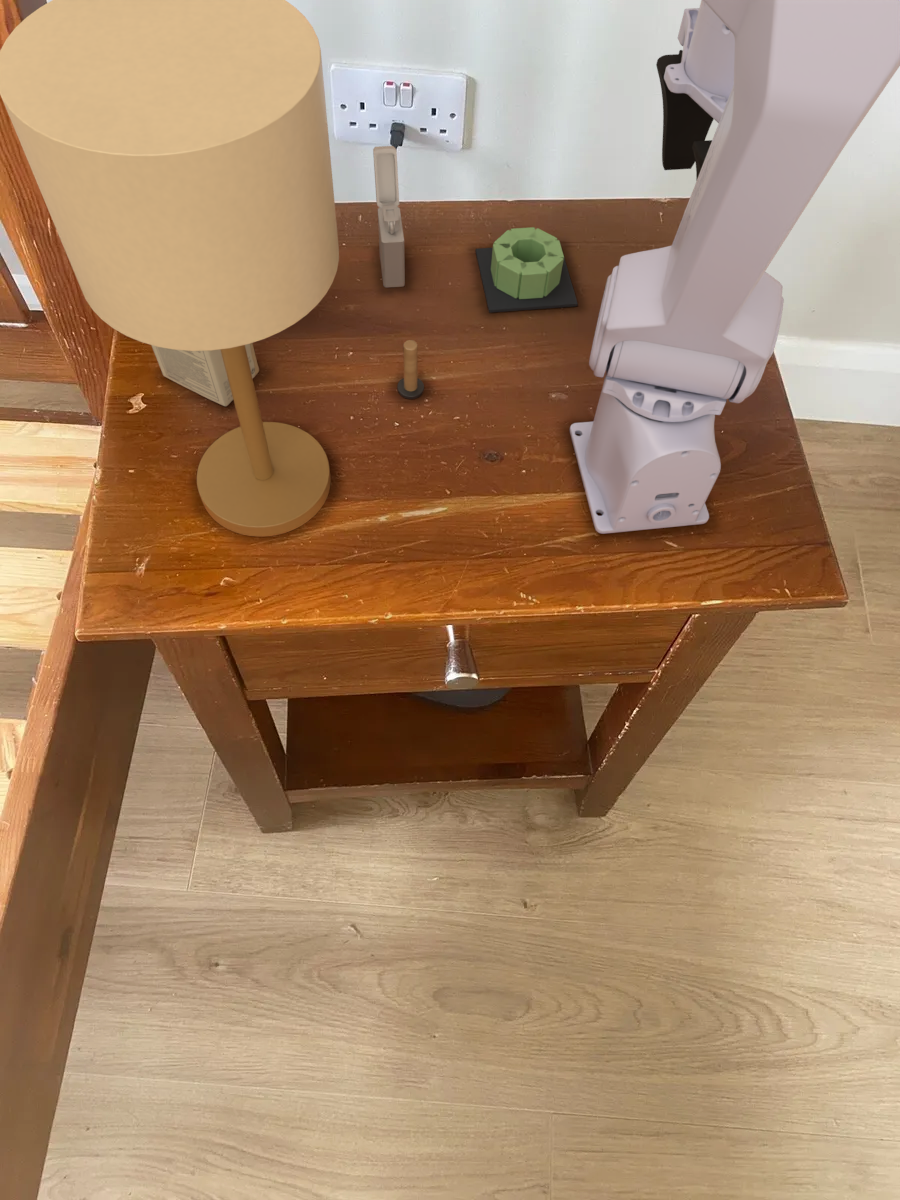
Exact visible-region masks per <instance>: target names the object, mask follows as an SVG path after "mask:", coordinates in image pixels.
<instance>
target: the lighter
mask: <svg viewBox="0 0 900 1200" xmlns="http://www.w3.org/2000/svg"><path fill="white" fill-rule="evenodd" d="M372 155H373V170H374V183H375V186H374V187H375V200H376V205H377V207H378V208H377V223H378V225H377V226H378V246H379V247H378V248H379V249H378V250H379V261H380V268H381V277H382V285H383V287H384V288H400V287H402V288H403V287H404V286H405V285H406V280H405V279H406V276H405V275H406V273H405V271H406V269H405V268H406V267H405V263H406V262H405V237H404V228H403V222H402V216H401V208H400V207H399V205H400V190H399V189H400V188H399V171H398V150H397V149H396V147H395V146H393V145H385V146H383V145H381V146H374V147H373V148H372Z"/></svg>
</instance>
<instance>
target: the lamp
mask: <svg viewBox="0 0 900 1200" xmlns="http://www.w3.org/2000/svg"><path fill="white" fill-rule="evenodd" d="M324 80H325V79H324V69H323V59H322V49H321V44H320V41H319V37H318V36H317V33H316V31H315V29H314V27H313V25H312V24H311V23H310V21H309V20H308V18H307V17H306V16H305V15H304V14H303V13H302V12H301V11H300V10H299V9H298V8H297V7H296V6H294V5H293V4H291V3H290V2H289V1H288V0H50V1H49V2H47V3H45V4H44V5H42V6H40V7H39V8H37V9H36V10H34V11H33V12H32V13H30V14H29V15H28V16H26V17H25V18H24V19H23V20H21V22H20V23H19V24H18V25H17V26H16V27H15V28H14V29H13V30H12V31H11V33H10V34H9V35H8V36H7V38H6V39H5V40H4V43H3V45H2V46H1V48H0V97H1V100H2V103H3V105H4V107H5V110H6V112H7V115H8V117H9V119H10V122H11V124H12V127H13V129H14V131H15V133H16V135H17V138H18V141H19V142H20V146H21V148H22V151H23V153H24V155H25V157H26V160H27V163H28V165H29V167H30V169H31V172H32V174H33V177H34V179H35V181H36V184H37V187H38V189H39V191H40V194H41V196H42V198H43V201H44V203H45V206H46V208H47V210H48V213H49V215H50V217H51V220H52V222H53V225H54V228H55V230H56V232H57V234H58V237H59V240H60V242H61V244H62V246H63V249H64V252H65V254H66V257H67V259H68V261H69V264H70V266H71V269H72V270H73V273H74V276H75V278H76V281H77V283H78V285H79V288H80V290H81V292H82V294H83V297H84V299H85V301H86V302H87V304H88V305H89V307H90V309H91V310H92V311H93V312H94V313H95V314H96V315H97V316H98V317H99V318H100V319H101V320H102V321H103V322H104V323H106V324H107V325H108V326H109V327H111V328H112V329H113V330H115V331H117V332H119V333H120V334H122V335H124V336H126V337H128V338H131V339H133V340H135V341H137V342H140V343H142V344H143V343H144V344H147V345H149V346H152V345H153V346H157V347H162V348H168V349H174V350H186V351H210V350H219V349H220V350H221V354H222V358H223V362H224V365H225V369H226V373H227V377H228V381H229V384H230V388H231V392H232V396H233V400H232V401H233V403H234V408H235V411H236V414H237V418H238V424H239V426H238V427H235V428H233V429H231V430H229V431H227V432H226V433H224V434H222V435H221V436H219V438H217V439H216V440H214V442H213V443H212V444H211V445H209V446H208V448H207V449H206V450H205V452H204V453H203V455H202V457H201V459H200V461H199V464H198V467H197V471H196V487H197V491H198V494H199V497H200V500H201V502H202V505H203V507H204V509H205V510H206V512H207V513H208V515H209V516H210V517H211V519H212V520H214V521H215V522H216V523H217V524H219V525H220V526H221V527H223V528H225V529H227V530H229V531H231V532H233V533H236V534H239V535H241V536H242V535H243V536H249V537H256V538H257V537H272V536H273V537H274V536H278V535H283V534H286V533H289V532H291V531H294V530H296V529H298V528H300V527H302V526H304V525H305V524H306V523H308V522H309V521H310V520H312V518H314V517H315V516H316V515H317V514H318V513H319V512H320V511H321V509H322V507H323V506H324V505H325V503H326V501H327V499H328V497H329V493H330V491H331V484H332V476H331V468H330V463H329V459H328V455H327V453H326V451H325V450H324V448H323V446H322V445H321V444H320V442H319V441H318V440H317V439H315V437H314V436H312V435H311V434H310V433H309V432H307V431H305V430H304V429H301V428H299V427H297V426H296V425H295V426H294V425H291V424H289V423H283V422H277V421H263V418H262V414H261V409H260V406H259V400H258V397H257V392H256V388H255V383H254V378H252V374H251V370H250V365H249V361H248V356H247V352H246V348H245V345H247V344H250V343H253V344H254V343H256V342H259V341H263V340H266V339H267V338H270V337H272V336H274V335H276V334H279V333H282V332H284V331H285V330H287V329H288V328H290V327H292V326H293V325H295V324H296V323H298V322H299V321H301V320H303V318H305V317H306V316H307V315H308V314H310V312H311V311H312V310H314V309H315V308H316V307H317V306H318V305H319V304H320V302H322V300H323V298H324V297H325V296H326V295H327V293H328V291H329V290H330V288H331V286H332V284H333V282H334V281H335V277H336V275H337V271H338V266H339V263H340V246H339V245H340V244H339V236H338V224H337V223H338V222H337V213H336V203H335V202H336V201H335V192H334V191H335V190H334V180H333V169H332V158H331V148H330V138H329V137H330V136H329V125H328V113H327V103H326V92H325V81H324Z"/></svg>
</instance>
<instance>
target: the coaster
mask: <svg viewBox="0 0 900 1200" xmlns="http://www.w3.org/2000/svg"><path fill="white" fill-rule="evenodd" d="M560 245H561V243H560ZM561 246H562V245H561ZM492 250H493V247H481V248H479V247H478V248H475V251H474V252H475V256H476V261H477V265H478V269H479V273H480V278H481V283H482V287H483V291H484V292H483V293H484V297H485V300H486V305H487V310H488V313H489V314H490V313H491V314H492V313H502V312H503V313H505V312H516V311H517V312H518V311H531V310H533V311H534V310H544V309H545V310H546V309H558V308H559V309H560V308H572V307H573V308H574V307H578V300H577V296H576V292H575V289H574V286H573V283H572V280H571V275H570V272H569V269H568V265H567V262H566V258H565V257H564V260H563V266H562V271H561V277H560V281H559V284H558V285H557V286H556V287H555V288H554V289H553V290H552V291H551V292H550V293H549V294H548V295H547V296H546V297H545V296H543V298H532V299H519V297H517V298H514V297H512V296H510V295H508V294H507V293H505V292H503V291H501V290H499V289H497V286H494V281H493V277H492V273H491V261H492Z"/></svg>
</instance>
